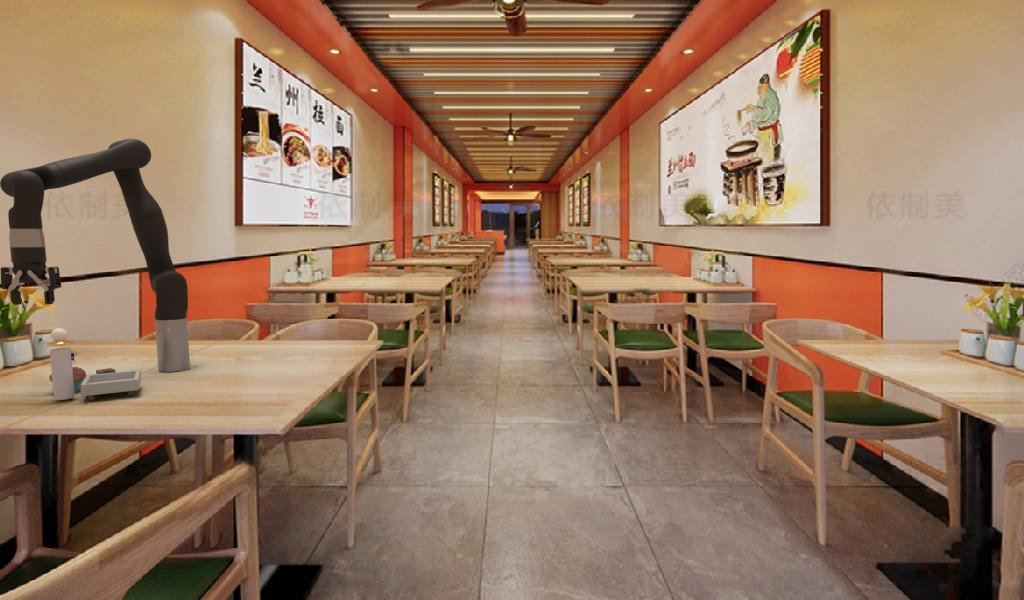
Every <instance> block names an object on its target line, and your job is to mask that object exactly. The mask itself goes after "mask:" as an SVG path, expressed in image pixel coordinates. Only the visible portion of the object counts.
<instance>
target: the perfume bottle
mask: <svg viewBox="0 0 1024 600" xmlns="http://www.w3.org/2000/svg"><path fill="white" fill-rule="evenodd" d="M50 338H51V339H52V341H47V342H46V344H45V346H46V347H58V348H51V349H49V359H50V368H51V369H50V371H51V374H52V382H51V383H52V392H53V400H54V401H63V400H68V399H69V400H71V399H73V398H75V393H76V392H74V381H73V369H72V367H73V362H74V363H75V360H76V359H75V352H74V351H72V348H71V347H61V346H69V345H72V344H74V341H73V340H71V339H70V340H69V339H67V338H68V331H67V330H66V329H65V328H62V327H56V328H54V329H52V330H51V332H50ZM59 346H60V347H59ZM71 356H72V357H71Z"/></svg>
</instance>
